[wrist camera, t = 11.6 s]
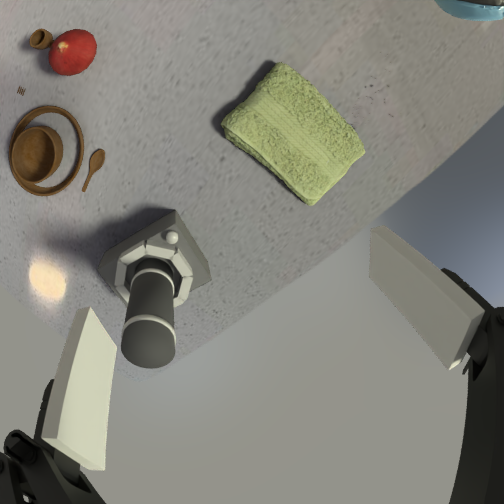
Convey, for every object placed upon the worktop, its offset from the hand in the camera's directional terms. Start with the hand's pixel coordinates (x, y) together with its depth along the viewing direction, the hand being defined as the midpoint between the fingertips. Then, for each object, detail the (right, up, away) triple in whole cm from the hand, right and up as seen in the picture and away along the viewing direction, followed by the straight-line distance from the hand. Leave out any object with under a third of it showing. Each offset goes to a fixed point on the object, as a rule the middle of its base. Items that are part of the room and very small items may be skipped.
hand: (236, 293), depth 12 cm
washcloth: (+6, +18, +24) cm, 31 cm away
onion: (-20, +26, +12) cm, 35 cm away
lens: (-12, -1, +23) cm, 25 cm away
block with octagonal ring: (-13, +1, +27) cm, 30 cm away
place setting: (-24, +19, +16) cm, 34 cm away
